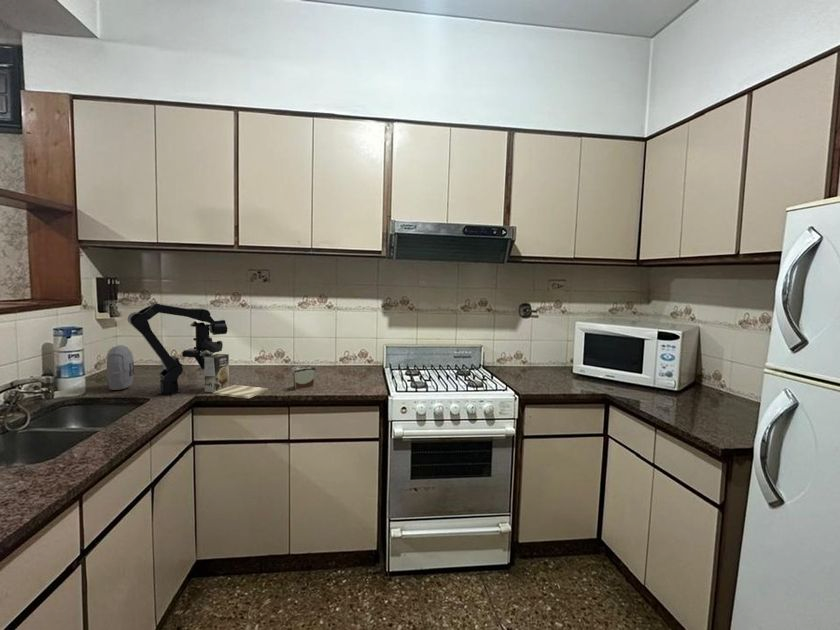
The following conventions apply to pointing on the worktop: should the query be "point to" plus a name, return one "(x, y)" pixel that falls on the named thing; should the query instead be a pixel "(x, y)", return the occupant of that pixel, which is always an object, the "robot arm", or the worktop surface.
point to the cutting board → (240, 391)
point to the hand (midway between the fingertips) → (203, 368)
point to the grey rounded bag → (120, 368)
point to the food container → (303, 376)
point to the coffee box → (216, 372)
